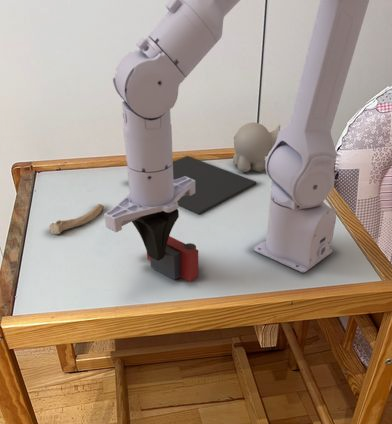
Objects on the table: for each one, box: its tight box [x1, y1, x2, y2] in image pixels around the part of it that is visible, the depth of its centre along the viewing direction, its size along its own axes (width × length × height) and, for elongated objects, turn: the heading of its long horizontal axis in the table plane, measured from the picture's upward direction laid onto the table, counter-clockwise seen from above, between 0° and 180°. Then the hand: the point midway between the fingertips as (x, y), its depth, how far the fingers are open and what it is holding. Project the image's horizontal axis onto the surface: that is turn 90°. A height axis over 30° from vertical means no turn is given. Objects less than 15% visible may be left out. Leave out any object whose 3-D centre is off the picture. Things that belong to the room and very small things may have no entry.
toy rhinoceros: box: [232, 122, 281, 173], centre depth 101 cm, size 7×12×8 cm, turn 99°
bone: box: [48, 203, 105, 235], centre depth 88 cm, size 3×11×2 cm, turn 141°
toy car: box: [146, 235, 199, 283], centre depth 76 cm, size 9×4×4 cm, turn 47°
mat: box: [173, 155, 257, 215], centre depth 98 cm, size 18×16×1 cm
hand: (156, 256), depth 74 cm, fingers closed
